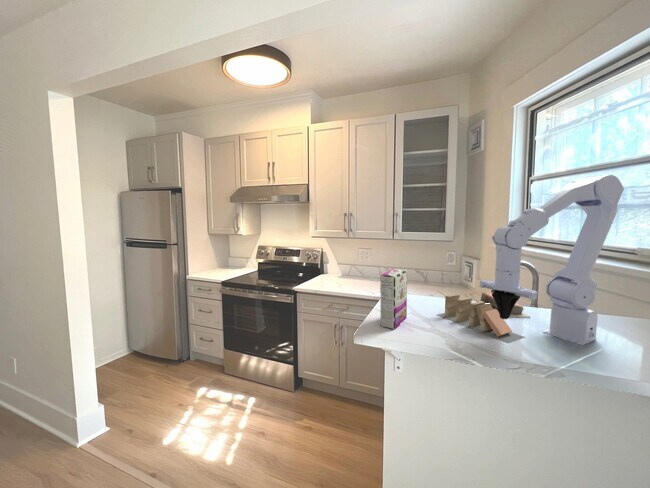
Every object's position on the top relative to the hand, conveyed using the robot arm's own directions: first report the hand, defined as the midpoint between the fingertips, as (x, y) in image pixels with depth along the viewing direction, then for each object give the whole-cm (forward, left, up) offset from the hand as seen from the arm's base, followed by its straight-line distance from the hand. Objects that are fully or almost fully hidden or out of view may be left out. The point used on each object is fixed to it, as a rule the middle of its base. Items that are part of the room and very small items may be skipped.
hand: (504, 318), depth 81 cm
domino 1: (+17, 0, -5) cm, 18 cm away
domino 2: (+13, 0, -5) cm, 14 cm away
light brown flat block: (+4, 0, -5) cm, 6 cm away
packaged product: (+14, -22, -6) cm, 27 cm away
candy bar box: (+22, +20, -6) cm, 31 cm away
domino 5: (0, 0, -4) cm, 4 cm away
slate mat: (+8, 0, -5) cm, 10 cm away
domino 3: (+8, 0, -5) cm, 10 cm away
